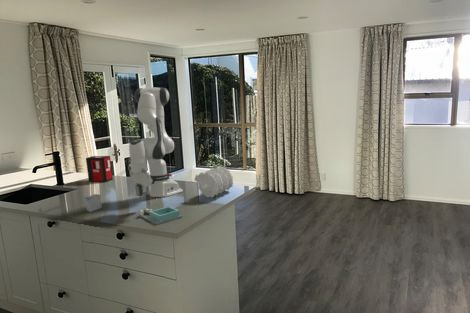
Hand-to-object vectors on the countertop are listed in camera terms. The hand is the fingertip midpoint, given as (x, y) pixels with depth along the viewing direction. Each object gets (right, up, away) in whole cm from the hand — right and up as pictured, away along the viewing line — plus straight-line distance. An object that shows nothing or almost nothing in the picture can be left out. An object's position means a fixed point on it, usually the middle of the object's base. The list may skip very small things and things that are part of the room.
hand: (142, 190), depth 211 cm
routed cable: (+7, -12, -9) cm, 17 cm away
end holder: (+16, -14, -14) cm, 25 cm away
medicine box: (-31, -13, +9) cm, 35 cm away
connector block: (0, -2, 0) cm, 2 cm away
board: (+13, -13, -12) cm, 22 cm away
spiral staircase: (+42, -5, +27) cm, 50 cm away
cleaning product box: (-57, 0, +88) cm, 105 cm away
